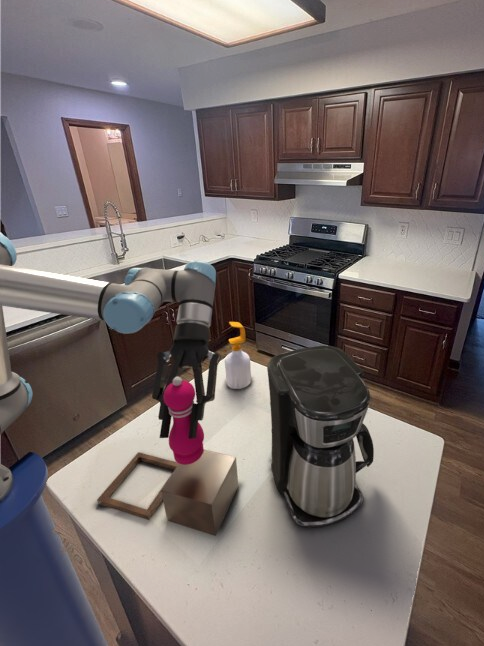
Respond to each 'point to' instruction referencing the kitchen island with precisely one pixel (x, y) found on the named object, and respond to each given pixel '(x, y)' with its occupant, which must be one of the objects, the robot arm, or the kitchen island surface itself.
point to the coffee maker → (318, 432)
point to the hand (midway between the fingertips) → (178, 437)
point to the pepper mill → (183, 422)
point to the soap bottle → (237, 362)
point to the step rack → (186, 491)
